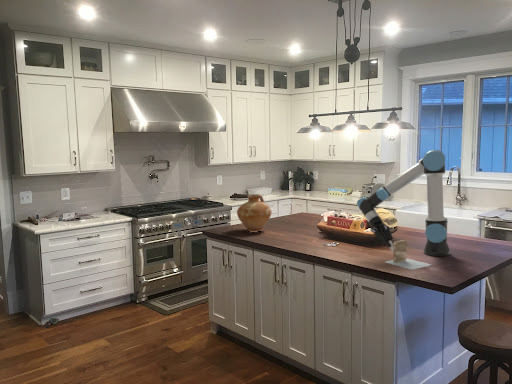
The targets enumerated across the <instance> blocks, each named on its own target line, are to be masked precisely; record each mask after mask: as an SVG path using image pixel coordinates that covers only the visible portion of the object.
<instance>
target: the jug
mask: <svg viewBox="0 0 512 384" xmlns="http://www.w3.org/2000/svg"><path fill="white" fill-rule="evenodd" d="M246 197H247V201H246V202H244V203H242V204H240V206H239V207H238V208H237V211H236V214H237V217H238V220H240V222H241V223H242V224H243V226H244V227H245V228H246V229H247V230H248V231H261V230H262V229H263V228H264V227H265V225H266V224H267V222H268V221H269V220H270V219H271V215H272V208H271V207H270V206H269V205H268V204H267V203H265V199H264V197H263V196H262V194H261V193H255V194H249V195H248V194H247V195H246ZM247 230H246V231H247ZM248 231H247V232H248ZM261 232H262V231H261Z"/></svg>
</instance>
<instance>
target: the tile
mask: <svg viewBox="0 0 512 384" xmlns="http://www.w3.org/2000/svg"><path fill="white" fill-rule="evenodd" d="M393 244H394V251H393V252H392V253H393V257H392V258H393V259H392V260H393V262H396V263H398V262H403V261H406V258H407V240H405V239H401V240H395V241H393Z"/></svg>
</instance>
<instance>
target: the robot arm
mask: <svg viewBox="0 0 512 384" xmlns="http://www.w3.org/2000/svg"><path fill="white" fill-rule="evenodd" d="M445 174H446V156H445V154H444V153H443V151H441V150H440V149H439V150H438V149H432V150H428V151H427V152H425V154H424V156H423V157H422V158H421V159H419V160H418V163H416V164H414V165H413V166H412V167H410V168H409V169H407V170H406V171H404V172H403V173H401V174H400V175H399V176H397V177H396V178H394V179H392V180H391V181H389V182H388V183H386V184H385V185H384V186H382V187H380V188H378V189H377V190H376V191H374V193H372V194H370V196H368V197H366V196H363V197H361V198H359V199H358V200H356V201H357V202H356V205H357V206H358V208H359V210H360V212H361V213H362V215H363V216H364V218H365V219H366V221H367V222H368V224H369V225H370V226H369V227H371V228H373V229H372V230H371V232H372V233H373V234H374V235H375V236H376V237H377V238H378V239H379V240H380V242H382V243H383V244H384V245H387V247H388V249H390V250H391V252H392V253H393V251H394V241H393V240H394V238H393V235H392V233H391V230H390V226H388V225H387V226H386V225H385V224H384V222H383V219H382V218H381V217H380V215H379V213H378V212H377V211H376V209H375V208H376V207H378V206H379V205H381V204H382V203H383V202H384V201H386V200H387V199H389V198H390V197H391V196H393V195H394V194H396V193H397V192H399V191H401V190H402V189H403V188H405V187H406V186H408V185H410V184H411V183H413V182H414V181H416V180H417V179H419V178H420V177H422V176H423V175H425V176H426V190H427V191H426V194H427V196H426V197H427V217H426V218H425V221H424V222H425V231H424V235H425V237H426V242H425V244H424V247H423V254H424V255H428V256H433V257H447V256H450V255H451V254H450V253H451V251H450V247H449V245H448V223H449V222H448V218H447V217H445V215H444V188H443V187H444V181H443V179H444V178H443V177H444V175H445Z"/></svg>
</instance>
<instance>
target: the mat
mask: <svg viewBox="0 0 512 384" xmlns="http://www.w3.org/2000/svg"><path fill="white" fill-rule="evenodd" d="M384 263H386V264H389V265H393V266H397V267H401V268H404V269H408V270H411V271H412V270H416V269H421V268H425V267H428V266H432V264H430V263H426V262H423V261H422V262H421V261H418V260H415V259H411V258H407V257H406V261H403V262H398V263H396V262H393V259H391V260H387V261H384Z"/></svg>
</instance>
